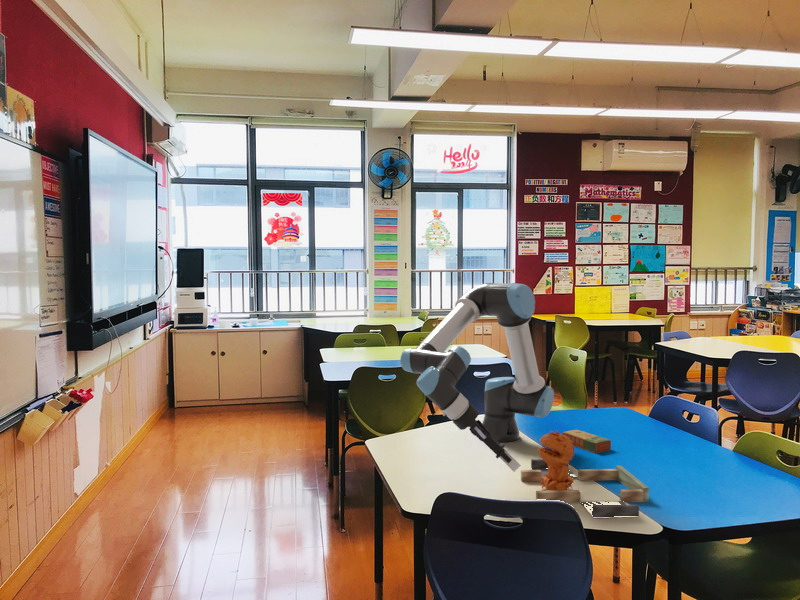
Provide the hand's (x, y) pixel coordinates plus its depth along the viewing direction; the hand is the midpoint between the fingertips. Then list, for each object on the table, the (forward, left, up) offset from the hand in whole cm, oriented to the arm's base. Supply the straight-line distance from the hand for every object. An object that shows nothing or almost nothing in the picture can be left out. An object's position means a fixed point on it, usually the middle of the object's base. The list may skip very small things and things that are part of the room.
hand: (516, 467), depth 164 cm
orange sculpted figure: (+11, +4, -7) cm, 14 cm away
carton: (+20, +53, -8) cm, 57 cm away
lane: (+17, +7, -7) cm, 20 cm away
